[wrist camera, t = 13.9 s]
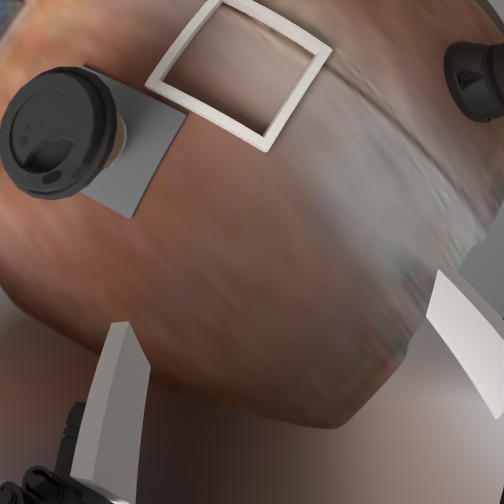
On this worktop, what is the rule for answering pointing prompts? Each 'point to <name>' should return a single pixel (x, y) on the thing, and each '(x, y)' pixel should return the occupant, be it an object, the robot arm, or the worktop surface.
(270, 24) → the holder frame
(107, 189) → the rubber mat
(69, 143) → the coffee cup
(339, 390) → the worktop surface
